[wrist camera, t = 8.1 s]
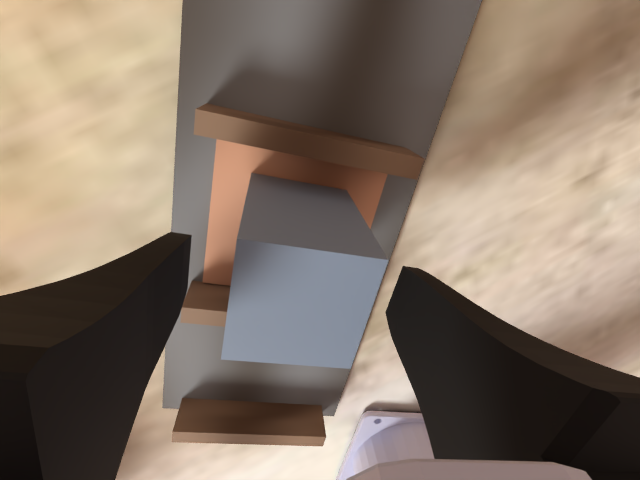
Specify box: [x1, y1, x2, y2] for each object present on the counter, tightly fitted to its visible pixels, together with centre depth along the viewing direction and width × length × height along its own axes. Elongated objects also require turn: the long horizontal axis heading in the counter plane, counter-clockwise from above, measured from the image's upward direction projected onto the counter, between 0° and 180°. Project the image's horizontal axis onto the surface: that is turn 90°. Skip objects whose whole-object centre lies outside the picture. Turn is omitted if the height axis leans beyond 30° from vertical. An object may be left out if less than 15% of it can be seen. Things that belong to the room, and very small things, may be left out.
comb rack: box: [163, 0, 482, 446], centre depth 15 cm, size 10×24×3 cm, turn 167°
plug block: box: [221, 173, 388, 369], centre depth 12 cm, size 4×4×6 cm
